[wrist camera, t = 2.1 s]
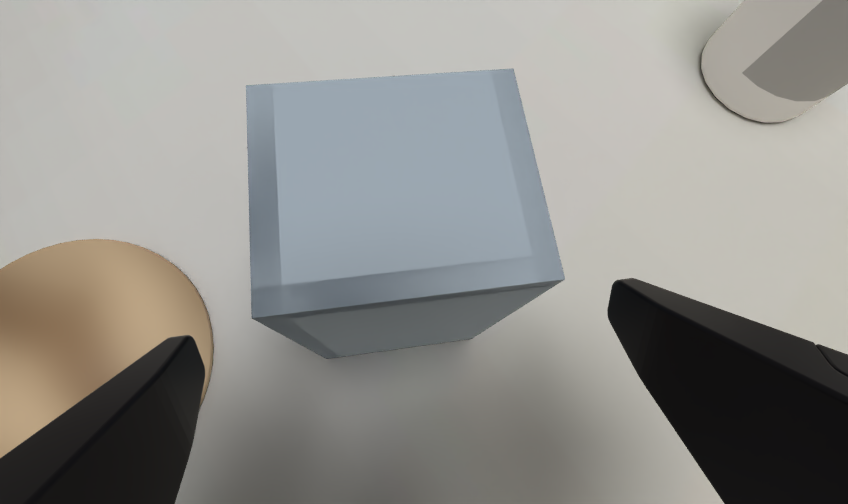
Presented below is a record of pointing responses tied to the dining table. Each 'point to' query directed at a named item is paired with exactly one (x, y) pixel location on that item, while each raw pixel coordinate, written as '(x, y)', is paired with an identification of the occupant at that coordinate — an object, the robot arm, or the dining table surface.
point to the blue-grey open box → (394, 210)
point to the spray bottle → (778, 57)
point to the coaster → (85, 325)
